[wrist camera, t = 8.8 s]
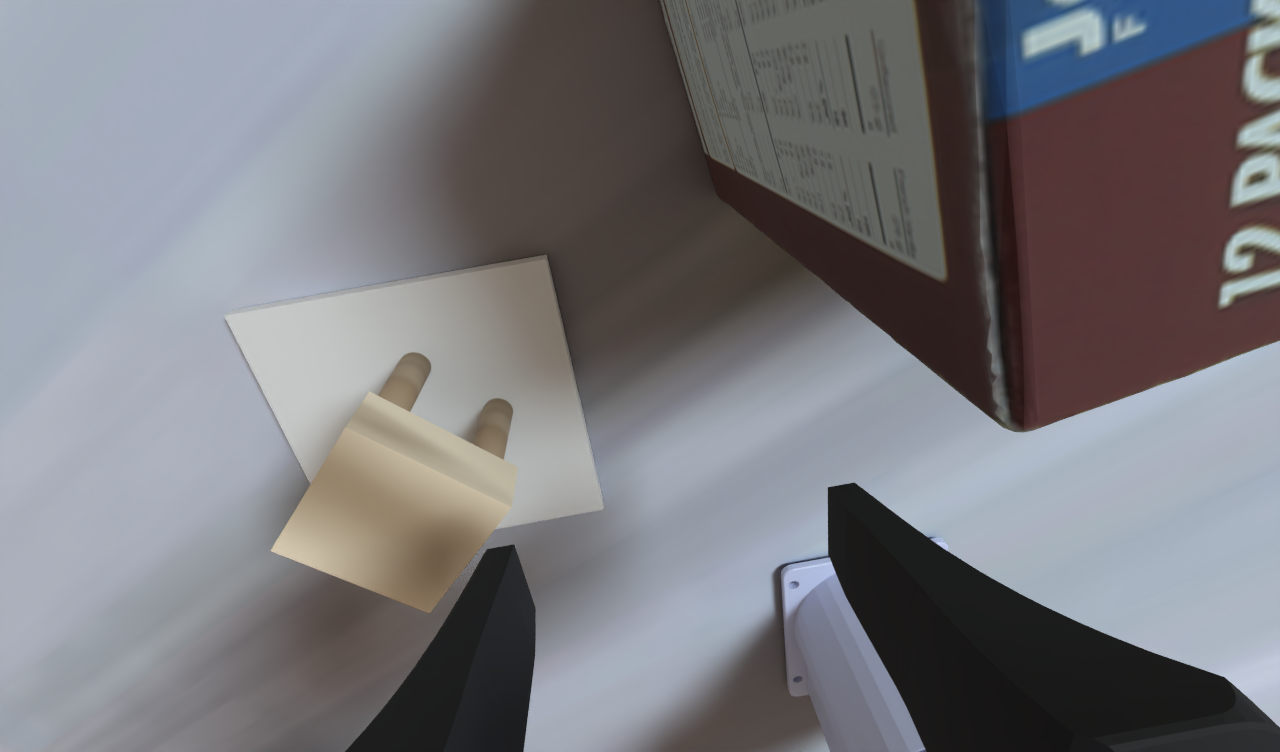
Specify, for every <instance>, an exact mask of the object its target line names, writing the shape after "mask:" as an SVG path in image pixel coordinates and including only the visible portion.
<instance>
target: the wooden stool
mask: <svg viewBox="0 0 1280 752" xmlns="http://www.w3.org/2000/svg"><path fill="white" fill-rule="evenodd" d="M430 372H431V363H430V361H429V360H428V358H427V357H425V356H424V355H422V354H420V353H416V352H411V353H407V354H405V355H404V356H403V357H402V358H401V360H400V361H399V363H398V364H397V366H396V368H395V369H394V371H393V372H392V374H391V375H390V377H389V379H388V380H387V382H386V383H385V385H384V386H383V388H382V390H381V391H380V393H379V394H378V395H376V394H374V393H372V392H370V391H369V393H368V394H367V396H366V397H365V399H364V400H363V402H362V403H361V405H360V406H359V408H358V409H357V411H356V412H355V414H354V415H353V417H352V418H351V420H350V421H349V423H348V424H347V426H346V427H345V429H344V430H343V432H342V434H341V435H340V437H339V439H338V440H337V442H336V444H335V445H334V447H333V448H332V450H331V452H330V453H329V455H328V457H327V458H326V460H325V462H324V463H323V465H322V467H321V468H320V470H319V472H318V473H317V475H316V477H315V478H314V480H313V481H312V483H311V485H310V486H309V488H308V490H307V491H306V493H305V495H304V496H303V498H302V500H301V501H300V503H299V505H298V506H297V508H296V510H295V511H294V513H293V515H292V516H291V518H290V519H289V521H288V523H287V524H286V526H285V528H284V529H283V531H282V533H281V534H280V536H279V538H278V539H277V541H276V543H275V544H274V546H273V548H272V549H271V551H272V552H274V553H277V554H279V555H282V556H284V557H287V558H290V559H292V560H295V561H297V562H300V563H302V564H305V565H307V566H310V567H312V568H315V569H317V570H320V571H323V572H325V573H328V574H330V575H333V576H335V577H338V578H340V579H343V580H345V581H348V582H350V583H353V584H356V585H358V586H361V587H363V588H366V589H368V590H371V591H373V592H376V593H378V594H381V595H383V596H386V597H389V598H391V599H394V600H396V601H399V602H401V603H404V604H406V605H409V606H411V607H414V608H416V609H419V610H422V611H424V612H427V613H429V614H430V612H431V611H432V610H433V608H434V607H435V606H436V605H437V603H438V602H439V601H440V599H441V598H442V597H443V596H444V594H445V593H446V592H447V590H448V589H449V588H450V587H451V585H452V584H453V583H454V581H455V580H456V579H457V578H458V576H459V575H460V574H461V572H462V571H463V570H464V568H465V567H466V566H467V565H468V563H469V562H470V561H471V559H472V558H473V557H474V556H475V554H476V553H477V552H478V550H479V549H480V548H481V547H482V545H483V544H484V543H485V541H486V540H487V539H488V538H489V536H490V535H491V534H492V532H493V531H494V530H495V528H496V527H497V526H498V525H499V523H500V522H501V521H502V519H503V518H504V517H505V516H506V514H507V513H508V512H509V510H510V509H511V508H512V503H513V496H514V490H515V484H516V477H517V471H518V467H517V466H515V465H513V464H511V463H509V462H507V461H505V460H504V456H505V451H506V446H507V441H508V436H509V431H510V426H511V421H512V415H513V408H512V406H511V404H510V403H509V402H508V401H506V400H504V399H500V398H495V399H491V400H489V401H488V402H487V403H486V404H485V406H484V409H483V412H482V416H481V419H480V423H479V426H478V430H477V433H476V437H475V440H474V444H472V443H470V442H468V441H466V440H464V439H462V438H460V437H458V436H456V435H454V434H452V433H450V432H448V431H446V430H444V429H442V428H440V427H438V426H436V425H434V424H432V423H430V422H429V421H427V420H425V419H423V418H421V417H419V416H417V415H415V414H413V413H411V412H410V411H411V409H412V407H413V405H414V403H415V402H416V400H417V398H418V396H419V394H420V392H421V390H422V388H423V386H424V384H425V382H426V380H427V378H428V376H429V374H430Z"/></svg>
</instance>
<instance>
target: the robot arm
mask: <svg viewBox="0 0 1280 752" xmlns="http://www.w3.org/2000/svg"><path fill="white" fill-rule="evenodd" d="M828 555H829V557H828V558H823V559H817V560H812V561H807V562H801V563H796V564H790V565H787V566H786V567H784V568H783V569H782V571H781V586H782V603H783V620H784V637H785V655H786V672H787V687H788V690H789V693H790V695H792V696H794V697H800V696H805V695H809V696H810V698H811V701H812V704H813V707H814V709H815V712H816V715H817V717H818V720H819V723H820V725H821V728H822V731H823V733H824V736H825V739H826V741H827V744H828V747H829V750H830V752H1280V727H1279V726H1277V725H1276V724H1275V723H1274V722H1273V721H1272V720H1271V719H1270V718H1269V717H1268V716H1267V715H1266V714H1265V713H1264V712H1263V711H1262V710H1260V709H1259V708H1258V707H1257V706H1256V705H1255V704H1254V703H1253V702H1252V701H1251V700H1250V699H1249V698H1248V697H1246V696H1245V695H1244V694H1243V693H1242V692H1241V691H1240V690H1239V689H1237V688H1236V687H1235V686H1234V685H1233V684H1232V683H1230V682H1229V681H1228V680H1227V679H1226V678H1225V677H1222V676H1219V675H1216V674H1213V673H1210V672H1207V671H1204V670H1202V669H1199V668H1196V667H1193V666H1190V665H1187V664H1184V663H1181V662H1178V661H1175V660H1172V659H1169V658H1167V657H1164V656H1161V655H1158V654H1155V653H1152V652H1150V651H1147V650H1144V649H1142V648H1139V647H1137V646H1134V645H1132V644H1129V643H1127V642H1124V641H1122V640H1119V639H1117V638H1114V637H1112V636H1109V635H1107V634H1104V633H1102V632H1100V631H1097V630H1095V629H1093V628H1090V627H1088V626H1086V625H1083V624H1081V623H1079V622H1077V621H1074V620H1072V619H1070V618H1068V617H1066V616H1064V615H1062V614H1060V613H1057V612H1055V611H1053V610H1051V609H1049V608H1047V607H1045V606H1043V605H1041V604H1039V603H1037V602H1035V601H1033V600H1031V599H1029V598H1027V597H1025V596H1023V595H1021V594H1019V593H1017V592H1016V591H1014V590H1012V589H1010V588H1008V587H1006V586H1005V585H1003V584H1001V583H999V582H997V581H995V580H994V579H992V578H990V577H988V576H987V575H985V574H983V573H982V572H980V571H978V570H977V569H975V568H973V567H972V566H970V565H969V564H967V563H965V562H964V561H962V560H961V559H959V558H957V557H956V556H954V555H953V554H951V553H950V552H948V545H947V544H946V543H945V541H944V540H943V539H941V538H932V539H929V538H928V537H926V536H925V535H924V534H922V533H921V532H919V531H918V530H917V529H915V528H914V527H912V526H911V525H910V524H908V523H907V522H906V521H904V520H903V519H902V518H900V517H899V516H898V515H896V514H895V513H894V512H892V511H891V510H890V509H888V508H887V507H886V506H884V505H883V504H882V503H880V502H879V501H878V500H877V499H875V498H874V497H873V496H871V495H870V494H869V493H867V492H866V491H865V490H864V489H862V488H861V487H860V486H858V485H857V484H855V483H850V484H844V485H839V486H833V487H828ZM793 581H794V582H793ZM790 582H792V583H790ZM534 659H535V606H534V603H533V600H532V597H531V594H530V591H529V588H528V585H527V582H526V579H525V576H524V573H523V570H522V567H521V564H520V561H519V558H518V555H517V552H516V549H515V546H514V545H509V546H503V547H497V548H492V549H487V551H486V552H485V553H484V555H483V557H482V558H481V560H480V562H479V564H478V566H477V567H476V569H475V571H474V573H473V575H472V576H471V578H470V580H469V582H468V583H467V585H466V587H465V589H464V590H463V592H462V594H461V596H460V597H459V599H458V601H457V602H456V604H455V606H454V607H453V609H452V611H451V612H450V614H449V615H448V617H447V619H446V620H445V622H444V624H443V625H442V627H441V628H440V630H439V632H438V633H437V635H436V636H435V638H434V639H433V641H432V642H431V644H430V645H429V647H428V648H427V650H426V651H425V652H424V654H423V655H422V657H421V658H420V660H419V661H418V663H417V664H416V666H415V667H414V669H413V670H412V671H411V673H410V674H409V675H408V677H407V678H406V679H405V681H404V682H403V684H402V685H401V686H400V687H399V689H398V690H397V691H396V693H395V694H394V695H393V696H392V698H391V699H390V700H389V702H388V703H387V704H386V705H385V707H384V708H383V709H382V710H381V712H380V713H379V714H378V715H377V716H376V717H375V719H374V720H373V721H372V722H371V723H370V724H369V726H368V727H367V728H366V729H365V730H364V731H363V732H362V734H361V735H360V736H359V737H358V738H357V739H356V740H355V741H354V742H353V744H352V745H351V746H350V747H349V748H348V749H347V750H346V751H345V752H523V750H524V742H525V734H526V726H527V717H528V709H529V701H530V693H531V685H532V676H533V668H534Z"/></svg>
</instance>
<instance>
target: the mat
mask: <svg viewBox="0 0 1280 752" xmlns="http://www.w3.org/2000/svg"><path fill="white" fill-rule="evenodd" d="M224 317H225V319H226V320H227V322H228V324H229V326H230V328H231V330H232V332H233V334H234V336H235V338H236V340H237V342H238V344H239V346H240V348H241V350H242V352H243V354H244V356H245V358H246V360H247V362H248V363H249V365H250V367H251V369H252V371H253V373H254V375H255V377H256V379H257V381H258V383H259V385H260V387H261V389H262V391H263V393H264V395H265V397H266V399H267V401H268V403H269V404H270V406H271V408H272V410H273V412H274V414H275V416H276V418H277V420H278V422H279V424H280V426H281V428H282V430H283V432H284V434H285V436H286V438H287V440H288V442H289V444H290V446H291V447H292V449H293V451H294V453H295V455H296V457H297V459H298V461H299V463H300V465H301V467H302V469H303V471H304V473H305V475H306V477H307V479H308V481H309V483H310V485H311V483H312V481H313V480H314V478H315V477H316V475H317V473H318V472H319V470H320V468H321V467H322V465H323V463H324V462H325V460H326V458H327V457H328V455H329V453H330V452H331V450H332V448H333V447H334V445H335V444H336V442H337V440H338V439H339V437H340V435H341V434H342V432H343V430H344V429H345V427H346V426H347V424H348V423H349V421H350V420H351V418H352V417H353V415H354V414H355V412H356V411H357V409H358V408H359V406H360V405H361V403H362V402H363V400H364V399H365V397H366V396H367V394H368V393H369V391H370V392H372V393H374V394H376V395H378V394H379V393H380V391H381V390H382V388H383V386H384V385H385V383H386V382H387V380H388V379H389V377H390V375H391V374H392V372H393V371H394V369H395V368H396V366H397V364H398V363H399V361H400V360H401V358H402V357H403V356H404V355H405V354H407V353H411V352H416V353H420V354H422V355H424V356H425V357H427V358H428V360H429V361H430V363H431V372H430V374H429V376H428V378H427V380H426V382H425V384H424V386H423V388H422V390H421V392H420V394H419V396H418V398H417V400H416V402H415V403H414V405H413V407H412V409H411V411H410V412H411V413H413V414H415V415H417V416H419V417H421V418H423V419H425V420H427V421H429V422H430V423H432V424H434V425H436V426H438V427H440V428H442V429H444V430H446V431H448V432H450V433H452V434H454V435H456V436H458V437H460V438H462V439H464V440H466V441H468V442H470V443H472V444H474V440H475V437H476V433H477V430H478V426H479V423H480V419H481V416H482V412H483V409H484V406H485V404H486V403H487V402H488V401H489V400H491V399H495V398H500V399H504V400H506V401H508V402H509V403H510V404H511V406H512V408H513V415H512V421H511V426H510V431H509V436H508V441H507V446H506V451H505V456H504V460H505V461H507V462H509V463H511V464H513V465H515V466H517V467H518V471H517V477H516V484H515V490H514V496H513V503H512V508H511V509H510V510H509V512H508V513H507V514H506V516H505V517H504V518H503V519H502V521H501V522H500V523H499V525H498V526H497V527H496V528H495V529H500V528H506V527H511V526H517V525H522V524H528V523H533V522H539V521H544V520H550V519H555V518H561V517H566V516H572V515H577V514H583V513H588V512H594V511H600V510H604V502H603V497H602V492H601V488H600V484H599V479H598V475H597V471H596V466H595V462H594V458H593V453H592V449H591V445H590V440H589V436H588V431H587V427H586V423H585V418H584V414H583V410H582V405H581V401H580V397H579V392H578V388H577V384H576V379H575V375H574V371H573V366H572V362H571V358H570V353H569V349H568V344H567V340H566V336H565V331H564V327H563V323H562V318H561V314H560V310H559V305H558V301H557V297H556V292H555V288H554V284H553V279H552V275H551V270H550V266H549V262H548V257H547V255H541V256H535V257H530V258H524V259H518V260H512V261H507V262H501V263H495V264H490V265H484V266H478V267H473V268H467V269H461V270H456V271H450V272H444V273H439V274H433V275H427V276H421V277H416V278H410V279H404V280H399V281H393V282H387V283H382V284H376V285H370V286H365V287H359V288H353V289H348V290H342V291H336V292H330V293H325V294H319V295H313V296H308V297H302V298H296V299H291V300H285V301H279V302H274V303H268V304H262V305H256V306H251V307H245V308H239V309H234V310H232V311H230V312H229V313H227V314H226V315H225V316H224Z"/></svg>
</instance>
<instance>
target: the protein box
mask: <svg viewBox="0 0 1280 752" xmlns="http://www.w3.org/2000/svg"><path fill="white" fill-rule="evenodd" d="M658 1H659V4H660V7H661V10H662V14H663V17H664V20H665V24H666V27H667V31H668V34H669V38H670V41H671V44H672V48H673V51H674V54H675V57H676V60H677V63H678V67H679V71H680V74H681V77H682V80H683V84H684V87H685V90H686V94H687V97H688V101H689V104H690V107H691V111H692V114H693V118H694V121H695V124H696V128H697V131H698V134H699V138H700V141H701V144H702V147H703V151H704V154H705V157H706V160H707V164H708V167H709V170H710V173H711V177H712V180H713V183H714V186H715V189H716V193H717V195H718V197H719V198H720V199H721V200H722V201H723V202H725V203H727V204H728V205H730V206H731V207H732V208H734V209H735V210H736V211H737V212H738V213H740V214H741V215H742V216H743V217H745V218H746V219H747V220H748V221H750V222H751V223H752V224H753V225H754V226H755V227H757V228H758V229H759V230H760V231H762V232H763V233H764V234H766V235H767V236H768V237H769V238H771V239H772V240H773V242H775V243H776V244H778V245H779V246H780V247H781V248H782V249H784V250H785V251H786V252H788V253H789V254H790V255H791V256H793V257H794V258H796V259H797V260H798V261H799V262H800V263H801V264H802V265H804V266H805V267H806V268H807V269H809V270H810V271H811V272H812V273H814V274H815V275H816V276H818V277H819V278H820V279H821V280H823V281H824V282H825V283H826V284H827V285H829V286H830V287H831V288H832V289H833V290H834V291H836V292H837V293H838V294H839V295H840V296H841V297H843V298H844V299H845V300H846V301H848V302H849V303H851V305H852V306H854V307H855V308H856V309H857V310H858V311H859V312H861V313H862V314H863V315H864V316H866V317H867V318H868V319H869V320H871V321H872V322H873V323H874V324H876V325H877V326H878V327H880V328H881V329H882V330H883V331H885V332H886V333H887V334H888V335H890V336H891V337H892V338H893V339H894V340H895V341H896V342H897V343H898V344H899V345H901V346H902V347H903V348H905V349H906V350H907V351H908V352H910V353H911V354H912V355H914V356H915V357H916V358H917V359H919V360H920V361H921V362H922V363H923V364H925V365H926V366H927V367H928V368H930V369H931V370H932V371H933V372H934V373H936V374H937V375H938V376H939V377H940V378H942V379H943V380H944V381H945V382H947V383H948V384H949V385H950V386H951V387H953V388H954V389H955V390H956V391H958V392H959V393H960V394H962V395H963V396H964V397H965V398H967V399H968V400H969V401H970V402H972V403H973V404H974V405H975V406H977V407H978V408H979V409H980V410H982V411H983V412H984V413H985V414H987V415H988V416H989V417H990V418H992V419H993V420H994V421H996V422H997V423H998V424H999V425H1001V426H1002V427H1003V428H1006V429H1008V430H1011V431H1014V432H1028V431H1033V430H1036V429H1038V428H1041V427H1044V426H1046V425H1049V424H1052V423H1054V422H1057V421H1060V420H1063V419H1065V418H1068V417H1071V416H1074V415H1077V414H1080V413H1083V412H1086V411H1089V410H1091V409H1094V408H1097V407H1100V406H1103V405H1106V404H1109V403H1111V402H1114V401H1117V400H1120V399H1123V398H1125V397H1128V396H1131V395H1134V394H1137V393H1139V392H1142V391H1145V390H1148V389H1150V388H1153V387H1156V386H1158V385H1161V384H1164V383H1167V382H1170V381H1173V380H1176V379H1179V378H1182V377H1185V376H1188V375H1190V374H1193V373H1195V372H1198V371H1201V370H1203V369H1206V368H1208V367H1211V366H1213V365H1216V364H1218V363H1221V362H1223V361H1226V360H1228V359H1231V358H1233V357H1236V356H1238V355H1241V354H1244V353H1247V352H1250V351H1252V350H1255V349H1258V348H1261V347H1263V346H1266V345H1269V344H1272V343H1275V342H1277V341H1280V0H658Z"/></svg>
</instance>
